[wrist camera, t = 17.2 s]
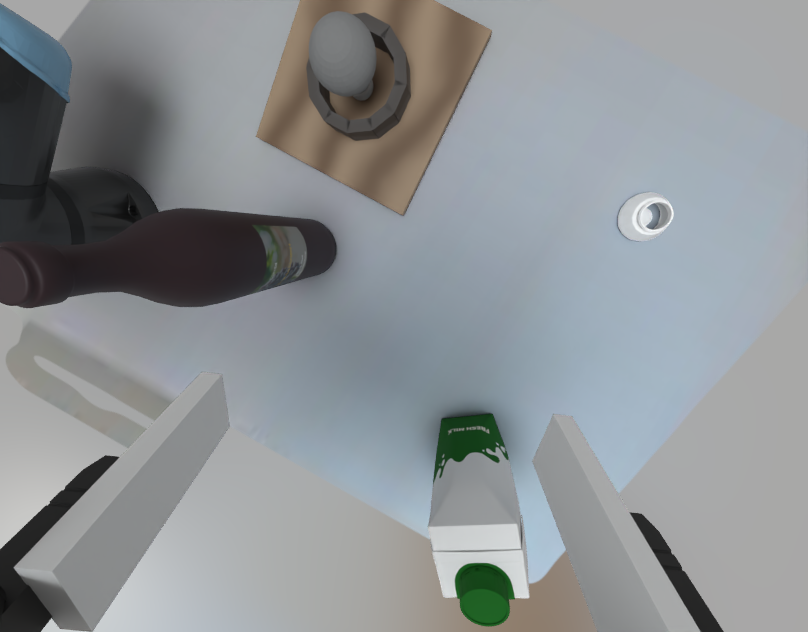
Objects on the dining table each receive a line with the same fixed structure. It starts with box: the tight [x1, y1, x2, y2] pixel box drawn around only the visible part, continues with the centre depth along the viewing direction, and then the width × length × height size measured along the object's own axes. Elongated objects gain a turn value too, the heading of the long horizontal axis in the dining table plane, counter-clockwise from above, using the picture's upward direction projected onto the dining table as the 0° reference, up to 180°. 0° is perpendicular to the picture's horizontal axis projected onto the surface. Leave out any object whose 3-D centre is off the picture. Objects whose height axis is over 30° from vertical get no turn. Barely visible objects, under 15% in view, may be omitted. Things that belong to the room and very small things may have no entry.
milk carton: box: [428, 414, 529, 626], centre depth 36 cm, size 9×9×20 cm
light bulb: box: [309, 11, 377, 101], centre depth 31 cm, size 6×6×10 cm
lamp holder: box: [256, 0, 492, 216], centre depth 35 cm, size 20×20×4 cm
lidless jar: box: [618, 192, 673, 241], centre depth 34 cm, size 5×3×5 cm
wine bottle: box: [0, 208, 336, 308], centre depth 28 cm, size 7×7×30 cm
